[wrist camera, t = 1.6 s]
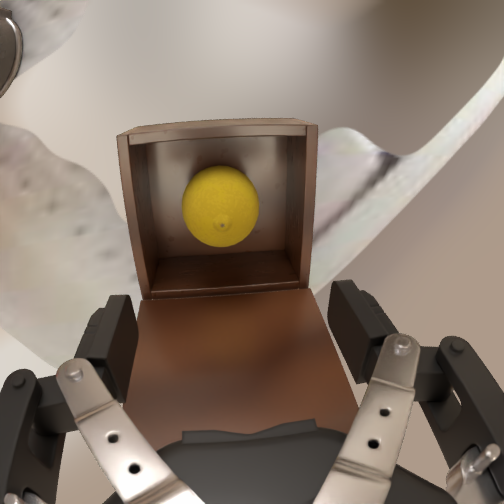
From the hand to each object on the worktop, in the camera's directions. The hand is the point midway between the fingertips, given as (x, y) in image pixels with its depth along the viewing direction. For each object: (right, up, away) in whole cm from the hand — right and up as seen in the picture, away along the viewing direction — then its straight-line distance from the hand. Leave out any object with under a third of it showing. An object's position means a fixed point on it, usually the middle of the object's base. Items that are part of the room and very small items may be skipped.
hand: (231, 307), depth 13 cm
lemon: (-2, +7, +14) cm, 16 cm away
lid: (0, -5, +6) cm, 8 cm away
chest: (-2, +7, +15) cm, 17 cm away
